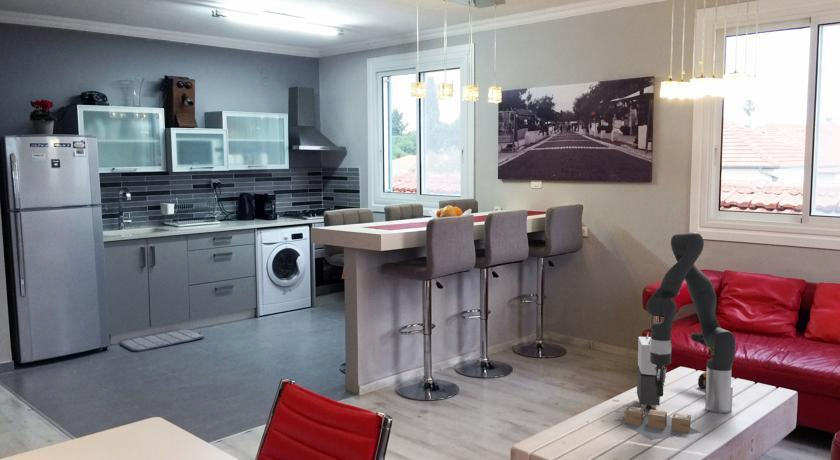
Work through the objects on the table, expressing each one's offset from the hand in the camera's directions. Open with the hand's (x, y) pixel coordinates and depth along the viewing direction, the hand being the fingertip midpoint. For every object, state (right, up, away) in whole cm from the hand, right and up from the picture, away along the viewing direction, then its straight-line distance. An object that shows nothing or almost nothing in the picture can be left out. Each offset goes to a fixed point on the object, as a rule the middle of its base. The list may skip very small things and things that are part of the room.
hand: (659, 395), depth 274 cm
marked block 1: (-8, -11, +4) cm, 15 cm away
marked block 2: (+7, -12, -3) cm, 14 cm away
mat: (-1, -12, +1) cm, 12 cm away
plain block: (-1, -11, +1) cm, 11 cm away
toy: (+3, -10, +25) cm, 27 cm away
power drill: (+38, -8, +51) cm, 64 cm away
